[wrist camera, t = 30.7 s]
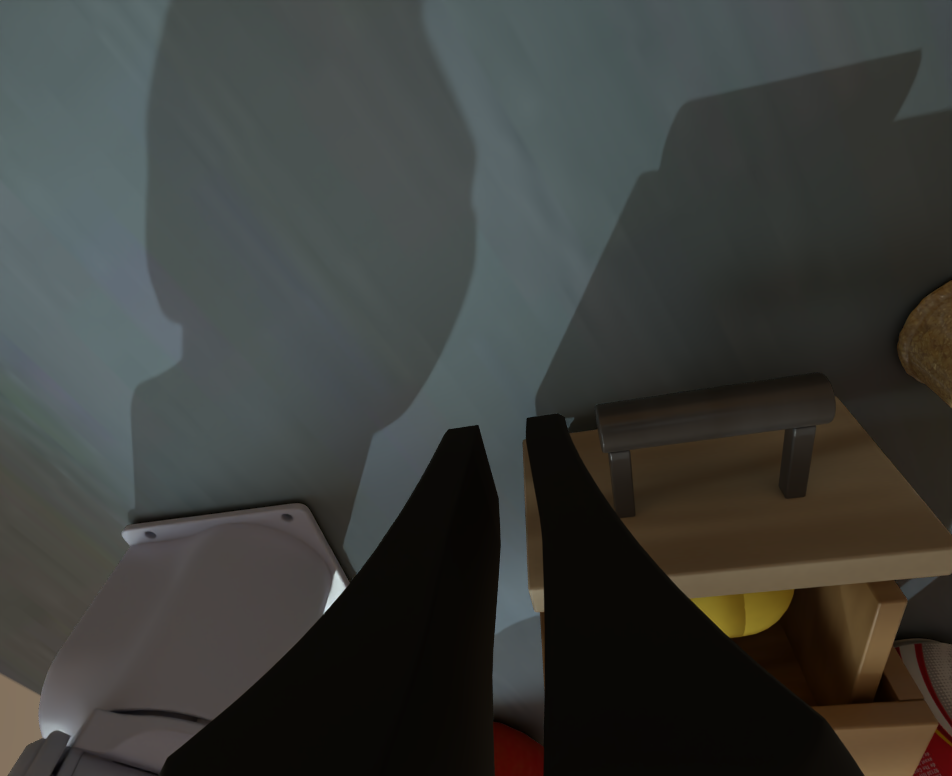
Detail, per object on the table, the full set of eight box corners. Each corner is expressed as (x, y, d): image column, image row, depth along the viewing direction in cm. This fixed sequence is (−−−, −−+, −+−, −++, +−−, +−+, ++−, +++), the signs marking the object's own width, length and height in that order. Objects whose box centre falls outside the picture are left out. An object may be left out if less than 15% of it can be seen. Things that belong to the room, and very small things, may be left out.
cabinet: (536, 548, 27) (547, 745, 20) (817, 518, 25) (941, 723, 18) (570, 692, 34) (587, 872, 27) (789, 678, 32) (868, 867, 25)
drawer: (501, 347, 20) (500, 487, 14) (855, 288, 18) (1016, 422, 12) (563, 623, 29) (577, 773, 23) (800, 602, 27) (877, 760, 21)
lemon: (608, 550, 24) (628, 663, 21) (602, 494, 21) (625, 617, 18) (758, 535, 23) (803, 650, 20) (776, 473, 20) (833, 599, 17)
